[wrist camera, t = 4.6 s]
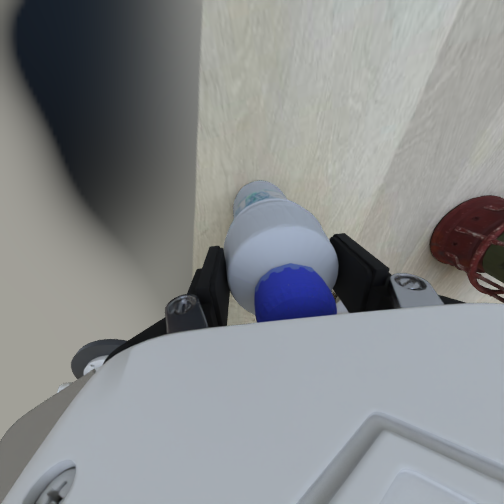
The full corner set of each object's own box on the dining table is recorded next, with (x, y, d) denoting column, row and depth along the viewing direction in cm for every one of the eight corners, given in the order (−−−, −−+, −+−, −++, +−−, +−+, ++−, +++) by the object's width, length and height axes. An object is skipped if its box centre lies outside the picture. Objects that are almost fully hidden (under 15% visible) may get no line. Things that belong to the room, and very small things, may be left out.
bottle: (294, 207, 25) (418, 336, 8) (254, 238, 27) (278, 401, 9) (263, 164, 23) (342, 203, 5) (221, 200, 24) (168, 326, 7)
